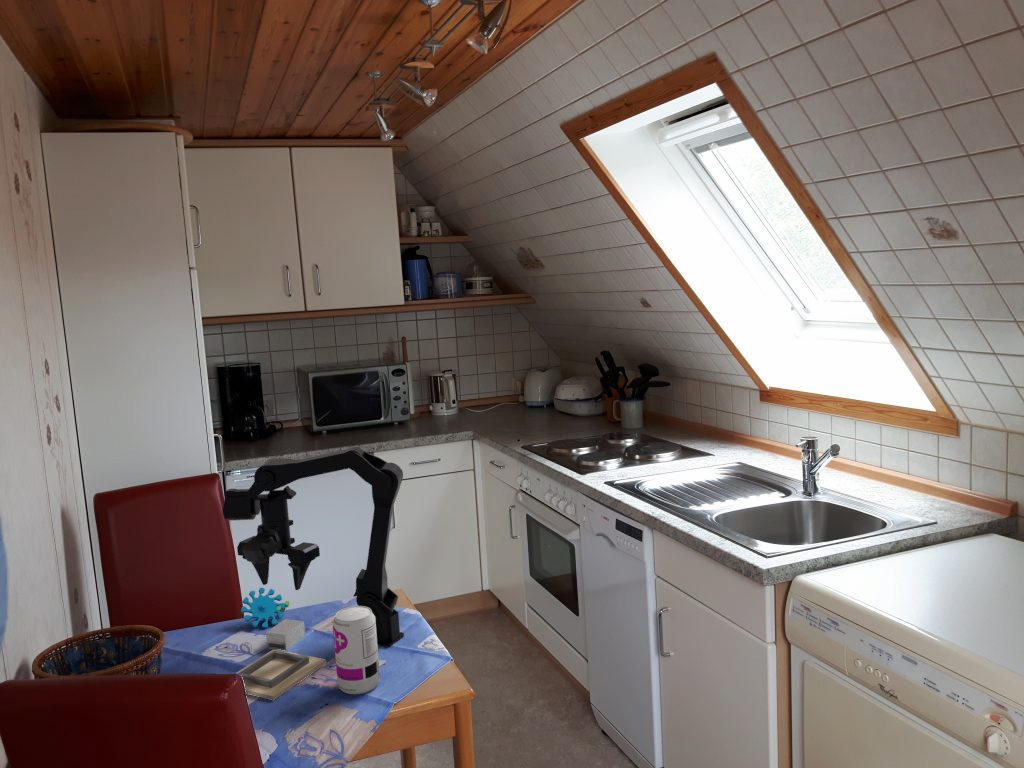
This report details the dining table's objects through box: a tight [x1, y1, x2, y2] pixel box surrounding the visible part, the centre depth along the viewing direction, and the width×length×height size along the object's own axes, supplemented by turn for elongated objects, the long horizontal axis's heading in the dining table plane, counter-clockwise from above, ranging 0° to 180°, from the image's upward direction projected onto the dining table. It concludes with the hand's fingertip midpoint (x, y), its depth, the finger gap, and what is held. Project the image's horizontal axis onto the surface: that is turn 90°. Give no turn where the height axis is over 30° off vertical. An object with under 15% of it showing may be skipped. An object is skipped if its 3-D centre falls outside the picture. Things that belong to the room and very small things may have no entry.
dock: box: [236, 649, 327, 700], centre depth 169 cm, size 14×16×2 cm
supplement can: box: [332, 605, 381, 695], centre depth 162 cm, size 8×8×15 cm
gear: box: [240, 587, 291, 629], centre depth 197 cm, size 11×6×10 cm
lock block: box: [265, 618, 306, 651], centre depth 184 cm, size 5×7×4 cm
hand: (281, 586), depth 182 cm, fingers open, 9 cm apart
